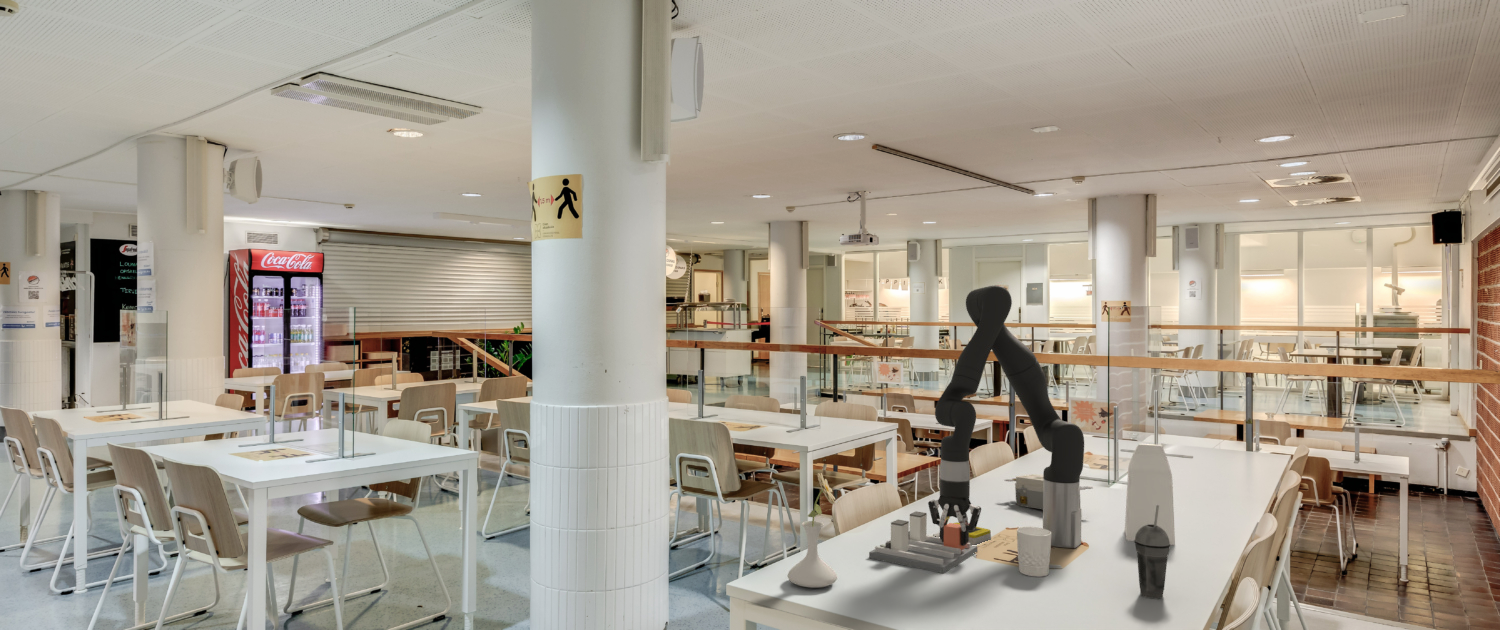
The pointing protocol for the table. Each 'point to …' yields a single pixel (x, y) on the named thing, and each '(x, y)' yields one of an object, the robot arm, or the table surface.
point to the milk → (1149, 491)
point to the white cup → (1033, 551)
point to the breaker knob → (900, 535)
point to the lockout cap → (953, 536)
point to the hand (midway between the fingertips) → (954, 543)
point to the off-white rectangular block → (918, 526)
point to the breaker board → (924, 554)
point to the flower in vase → (814, 550)
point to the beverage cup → (1152, 558)
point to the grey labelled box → (1032, 490)
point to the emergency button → (976, 535)
